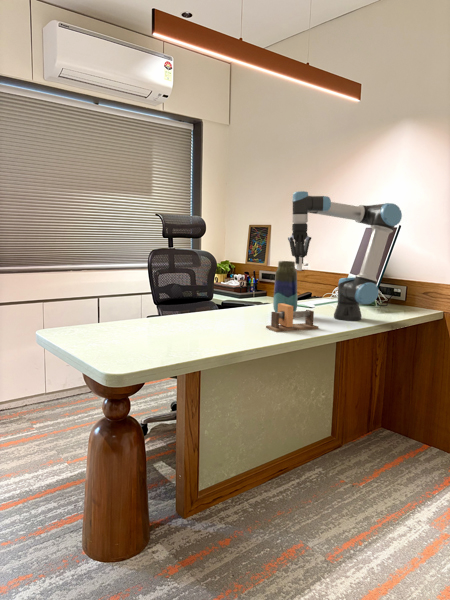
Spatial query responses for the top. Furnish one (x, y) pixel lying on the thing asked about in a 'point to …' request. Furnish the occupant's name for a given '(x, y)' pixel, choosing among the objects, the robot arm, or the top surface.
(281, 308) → the collar
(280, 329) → the pipe rig
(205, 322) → the top surface
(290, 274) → the vase
